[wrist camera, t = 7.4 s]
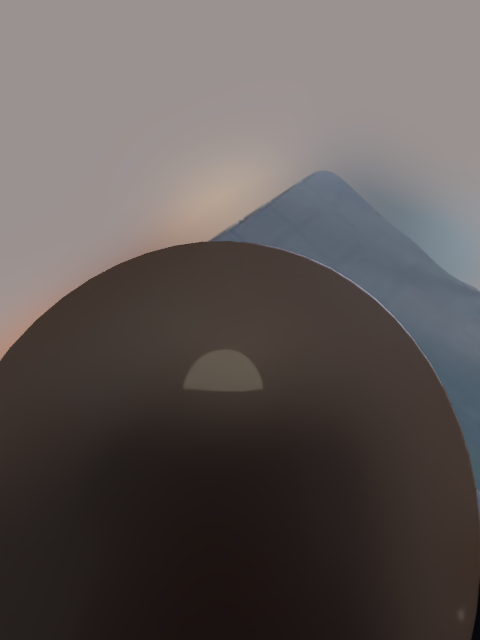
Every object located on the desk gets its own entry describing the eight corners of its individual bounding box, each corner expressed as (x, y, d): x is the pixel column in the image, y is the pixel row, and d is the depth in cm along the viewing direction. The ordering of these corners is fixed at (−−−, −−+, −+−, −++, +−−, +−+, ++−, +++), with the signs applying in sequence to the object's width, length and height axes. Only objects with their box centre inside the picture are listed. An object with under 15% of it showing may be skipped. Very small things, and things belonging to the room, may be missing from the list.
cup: (242, 474, 14) (406, 1122, 2) (144, 419, 14) (-275, 678, 2) (288, 372, 15) (516, 363, 4) (201, 324, 16) (154, 173, 4)
